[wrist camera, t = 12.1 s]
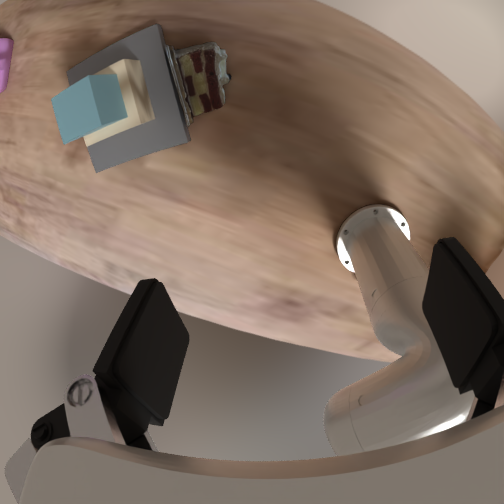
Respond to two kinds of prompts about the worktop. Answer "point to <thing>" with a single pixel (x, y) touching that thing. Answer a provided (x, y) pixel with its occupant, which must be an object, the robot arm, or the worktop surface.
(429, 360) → the robot arm
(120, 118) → the teal block
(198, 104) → the chocolate cake
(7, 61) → the teakettle
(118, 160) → the stacking base
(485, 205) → the worktop surface
